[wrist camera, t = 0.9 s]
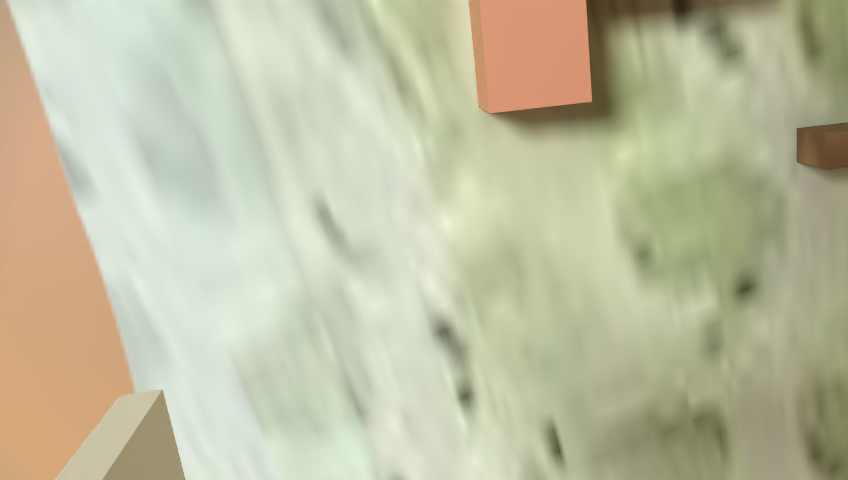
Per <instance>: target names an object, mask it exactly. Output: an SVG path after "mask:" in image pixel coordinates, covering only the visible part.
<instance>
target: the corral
mask: <svg viewBox="0 0 848 480" xmlns="http://www.w3.org/2000/svg"><path fill="white" fill-rule="evenodd" d="M797 162H800V163H804V164H807V165H811V166H815V167H819V168H823V169H835V168H844V167H848V123H840V124H831V125H823V126H814V127H805V128H797Z"/></svg>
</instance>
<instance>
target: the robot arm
mask: <svg viewBox="0 0 848 480" xmlns="http://www.w3.org/2000/svg"><path fill="white" fill-rule="evenodd" d="M55 480H185V476H184V472H183V468H182V465H181V461H180V457H179V453H178V449H177V445H176V441H175V437H174V433H173V429H172V425H171V421H170V417H169V413H168V409H167V405H166V402H165V398H164V394H163V390H156V391H150V392H143V393H136V394H130V395H123V396H119V397H118V399H117V400H116V402H115V403H114V404H113V405H112V406H111V408H110V409H109V411H108V412H107V413H106V414H105V416H104V417H103V418H102V419H101V421H100V422H99V423H98V425H97V426H96V427H95V429H94V430H93V431H92V432H91V434H90V435H89V436H88V437H87V439H86V440H85V441H84V443H83V444H82V445H81V446H80V448H79V449H78V450H77V452H76V453H75V454H74V455H73V457H72V458H71V459H70V461H69V462H68V463H67V465H66V466H65V467H64V469H63V470H62V471H61V472H60V474H59V475H58V476H57V477H56V479H55Z"/></svg>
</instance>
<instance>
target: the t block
mask: <svg viewBox="0 0 848 480" xmlns="http://www.w3.org/2000/svg"><path fill="white" fill-rule="evenodd" d="M469 7H470V18H471V29H472V40H473V50H474V61H475V72H476V83H477V93H478V104H479V108H481V109H483V110H484V111H486V112H488V113H498V112H506V111H515V110H524V109H533V108H541V107H550V106H559V105H568V104H577V103H585V102H592V92H591V75H590V59H589V42H588V26H587V9H586V0H469Z"/></svg>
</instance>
